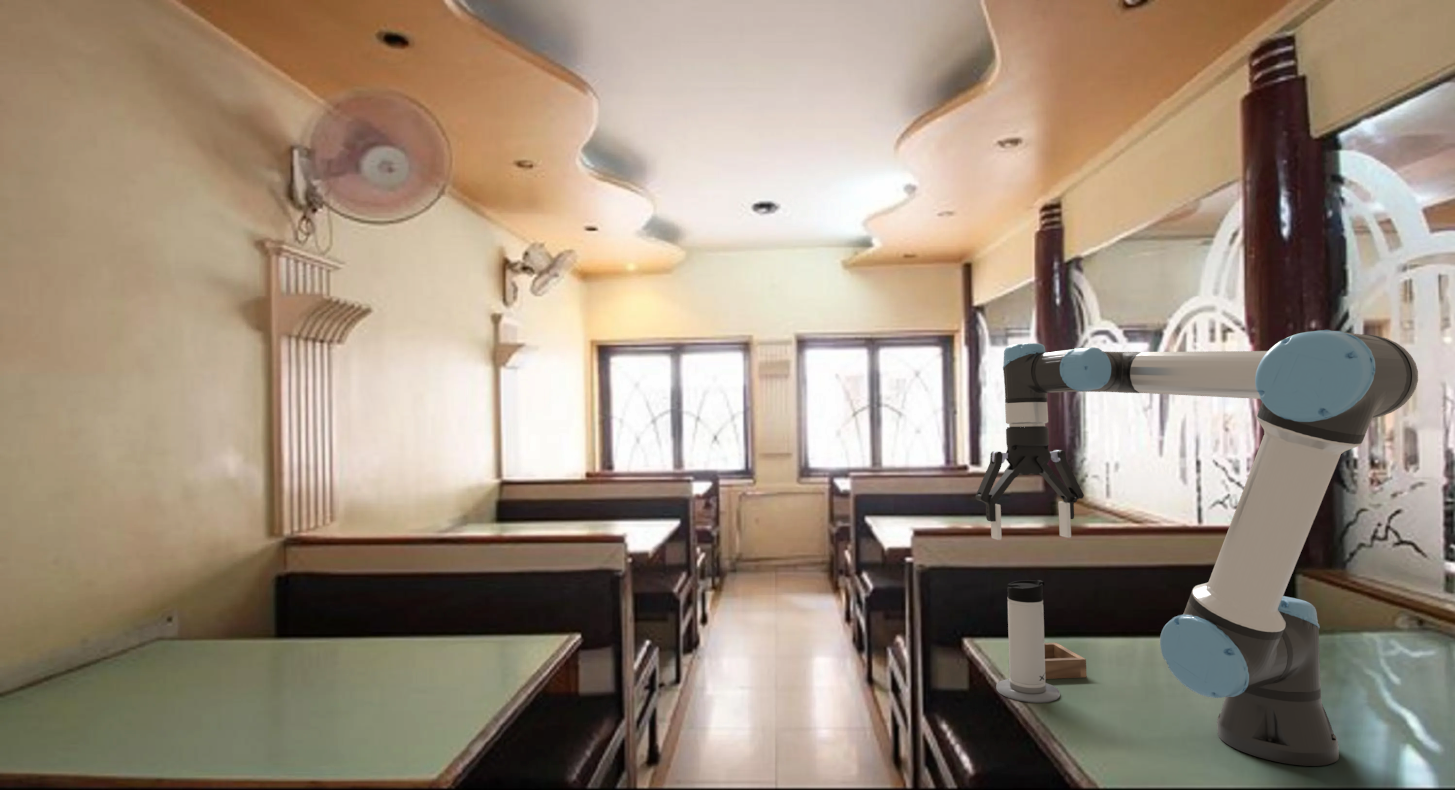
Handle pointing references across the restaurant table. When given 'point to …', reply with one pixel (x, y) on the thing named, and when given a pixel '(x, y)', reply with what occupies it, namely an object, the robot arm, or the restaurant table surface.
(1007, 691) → the grey round disc
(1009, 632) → the travel mug
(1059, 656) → the brown open square frame
